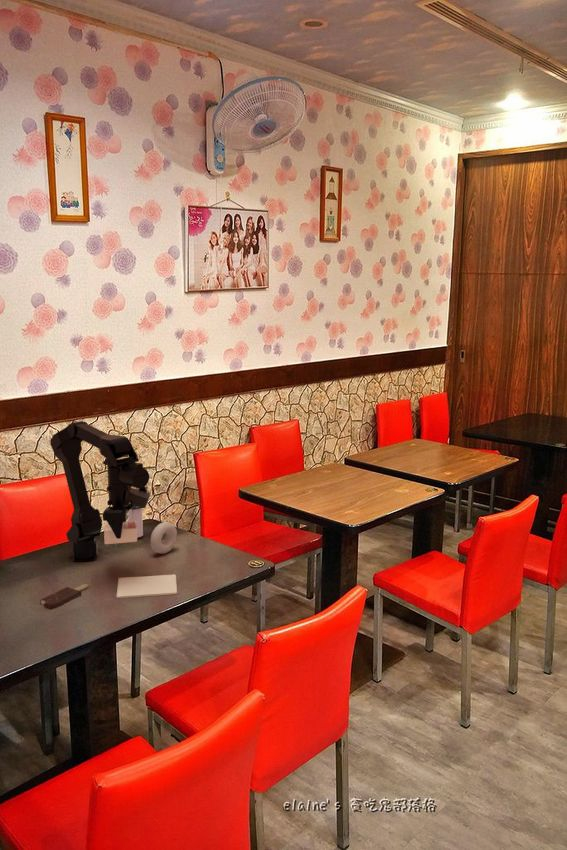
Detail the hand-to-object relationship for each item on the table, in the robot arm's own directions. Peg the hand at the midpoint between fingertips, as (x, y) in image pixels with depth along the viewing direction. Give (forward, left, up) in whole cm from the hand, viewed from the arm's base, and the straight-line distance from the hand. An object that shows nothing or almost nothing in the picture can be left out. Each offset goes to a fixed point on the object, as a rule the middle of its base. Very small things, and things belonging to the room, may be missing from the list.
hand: (120, 534), depth 203 cm
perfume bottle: (+3, +29, -12) cm, 32 cm away
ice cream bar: (-14, -13, -13) cm, 23 cm away
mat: (+7, -10, -12) cm, 17 cm away
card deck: (0, 0, -2) cm, 2 cm away
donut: (+12, +14, -12) cm, 22 cm away
